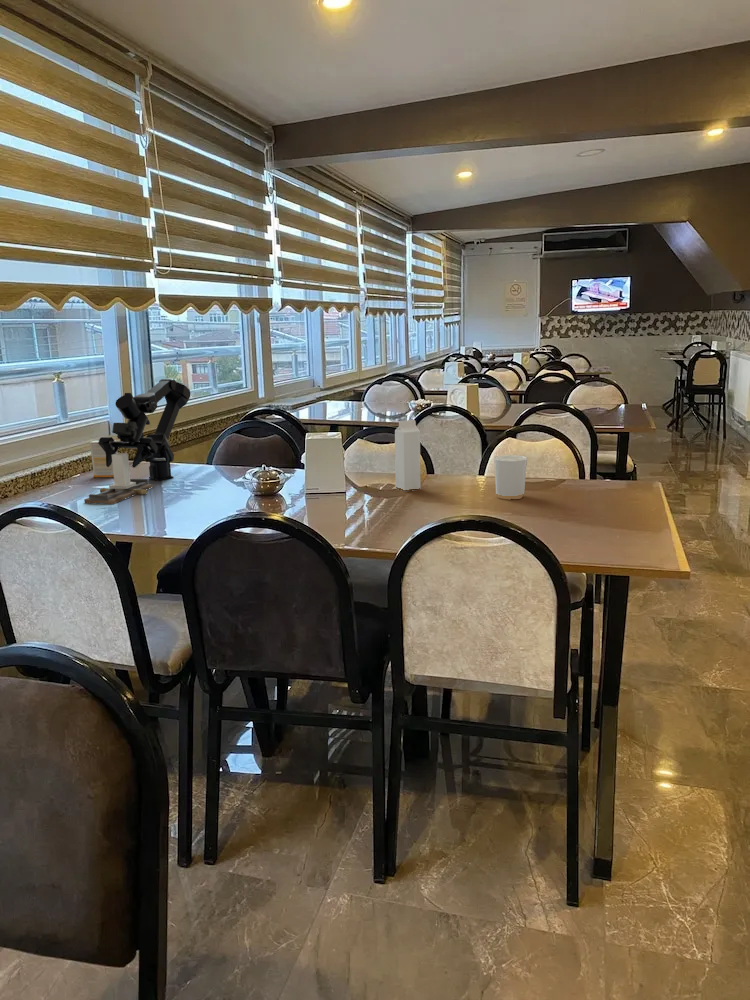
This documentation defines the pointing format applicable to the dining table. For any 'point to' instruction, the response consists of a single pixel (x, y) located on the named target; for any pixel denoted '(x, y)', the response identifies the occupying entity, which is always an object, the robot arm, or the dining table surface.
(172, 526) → the dining table surface
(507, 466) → the candle holder
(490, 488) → the dining table surface
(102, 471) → the supplement box
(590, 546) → the dining table surface
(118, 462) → the white upright block
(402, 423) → the milk
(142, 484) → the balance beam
